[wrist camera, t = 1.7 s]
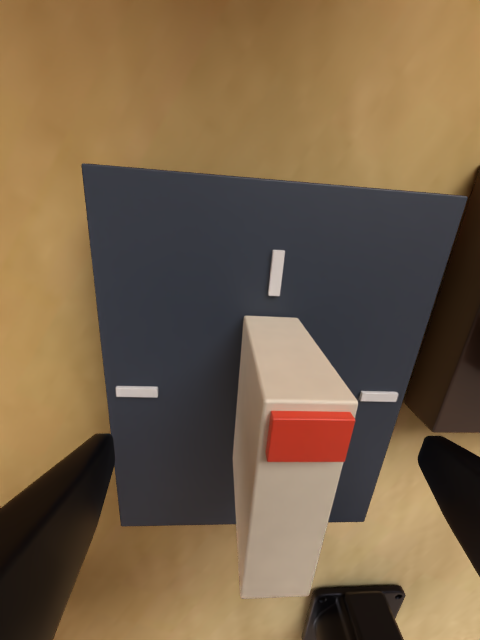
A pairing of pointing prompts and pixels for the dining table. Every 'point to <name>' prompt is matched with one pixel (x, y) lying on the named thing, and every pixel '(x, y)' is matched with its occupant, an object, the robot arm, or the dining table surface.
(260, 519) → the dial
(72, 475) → the robot arm
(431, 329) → the button block
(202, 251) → the control panel
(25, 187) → the dining table surface
